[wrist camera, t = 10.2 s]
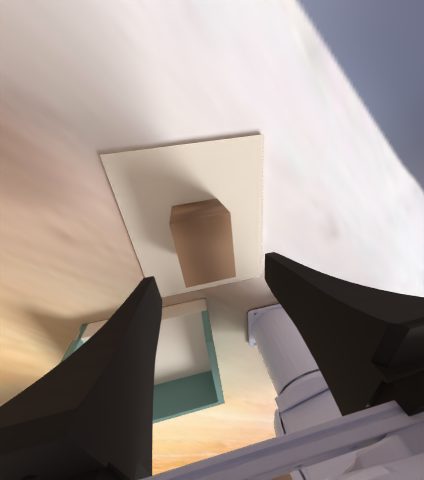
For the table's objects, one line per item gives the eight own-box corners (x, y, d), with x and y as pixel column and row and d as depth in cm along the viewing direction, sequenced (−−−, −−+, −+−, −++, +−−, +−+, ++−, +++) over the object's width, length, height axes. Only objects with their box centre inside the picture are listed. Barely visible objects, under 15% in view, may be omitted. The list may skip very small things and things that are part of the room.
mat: (261, 134, 16) (263, 134, 15) (260, 274, 23) (261, 276, 23) (101, 154, 14) (99, 154, 14) (153, 297, 21) (153, 299, 21)
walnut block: (217, 198, 17) (230, 212, 13) (223, 250, 20) (236, 277, 15) (171, 206, 17) (169, 223, 12) (184, 258, 19) (185, 288, 15)
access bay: (205, 298, 23) (213, 340, 18) (216, 358, 29) (224, 403, 24) (81, 325, 21) (49, 380, 16) (121, 382, 28) (107, 436, 22)
